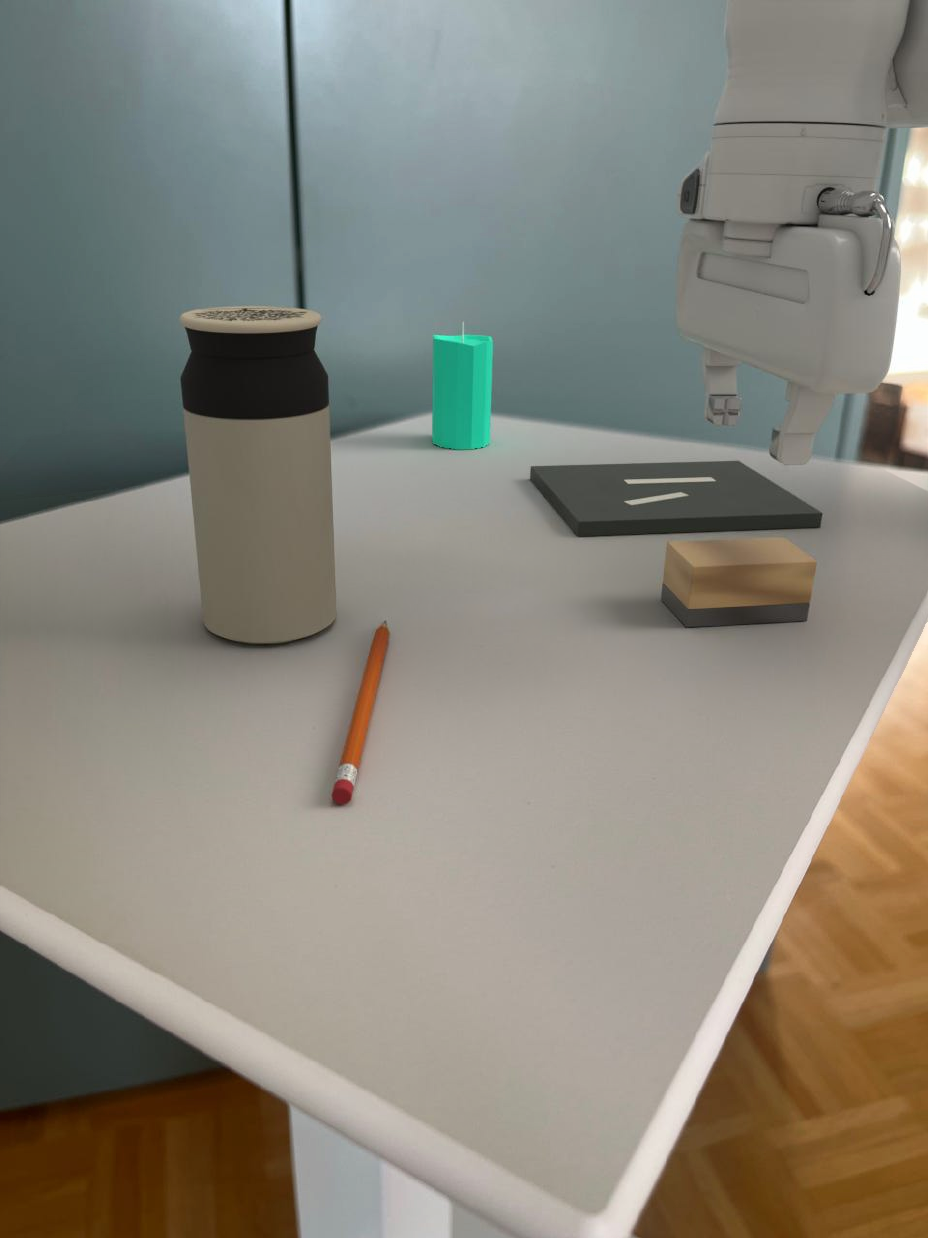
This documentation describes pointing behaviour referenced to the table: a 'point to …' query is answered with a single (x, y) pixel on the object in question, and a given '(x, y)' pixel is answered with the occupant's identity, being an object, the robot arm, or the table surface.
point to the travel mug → (260, 472)
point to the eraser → (737, 581)
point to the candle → (462, 390)
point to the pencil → (360, 718)
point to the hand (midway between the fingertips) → (751, 441)
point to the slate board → (669, 498)
